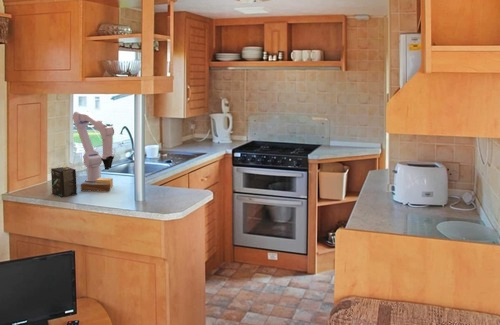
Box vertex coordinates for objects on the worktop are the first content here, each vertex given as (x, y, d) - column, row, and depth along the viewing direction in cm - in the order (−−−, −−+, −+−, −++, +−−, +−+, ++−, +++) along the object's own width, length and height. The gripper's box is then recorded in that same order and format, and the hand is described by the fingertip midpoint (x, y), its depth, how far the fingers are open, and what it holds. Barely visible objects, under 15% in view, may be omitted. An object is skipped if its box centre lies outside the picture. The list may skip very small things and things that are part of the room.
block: (99, 185, 302) (99, 177, 301) (112, 186, 302) (112, 178, 301) (96, 188, 296) (96, 179, 295) (109, 188, 296) (109, 180, 295)
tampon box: (77, 194, 279) (76, 169, 276) (61, 197, 272) (60, 171, 270) (67, 191, 286) (66, 166, 284) (51, 194, 279) (50, 168, 277)
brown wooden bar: (82, 189, 291) (82, 182, 290) (110, 190, 291) (110, 183, 290) (81, 190, 288) (80, 184, 287) (108, 191, 288) (108, 184, 287)
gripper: (110, 148, 296) (111, 171, 298) (117, 145, 310) (117, 166, 312) (98, 148, 296) (99, 170, 298) (106, 144, 310) (106, 166, 312)
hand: (108, 168), depth 305 cm, fingers open, 4 cm apart
